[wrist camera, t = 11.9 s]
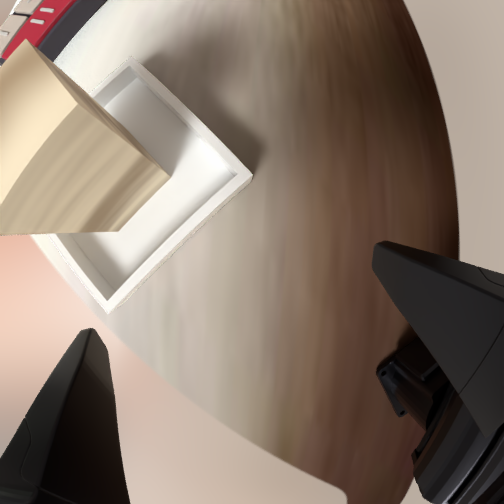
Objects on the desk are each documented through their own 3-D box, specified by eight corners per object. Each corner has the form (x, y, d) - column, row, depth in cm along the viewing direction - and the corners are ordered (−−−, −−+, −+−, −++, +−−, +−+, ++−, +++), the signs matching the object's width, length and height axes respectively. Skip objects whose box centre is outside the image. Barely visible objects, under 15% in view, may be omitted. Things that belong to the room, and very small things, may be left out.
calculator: (-22, 54, 13) (67, -49, 12) (0, 65, 17) (80, -31, 16) (18, 70, 14) (130, -51, 12) (44, 86, 18) (141, -26, 17)
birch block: (171, 177, 18) (78, 103, 6) (118, 231, 18) (-17, 236, 6) (126, 129, 17) (25, 38, 5) (78, 181, 17) (-51, 144, 6)
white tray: (251, 181, 19) (253, 174, 16) (122, 304, 19) (108, 314, 16) (141, 72, 18) (131, 55, 15) (33, 185, 18) (15, 181, 15)
